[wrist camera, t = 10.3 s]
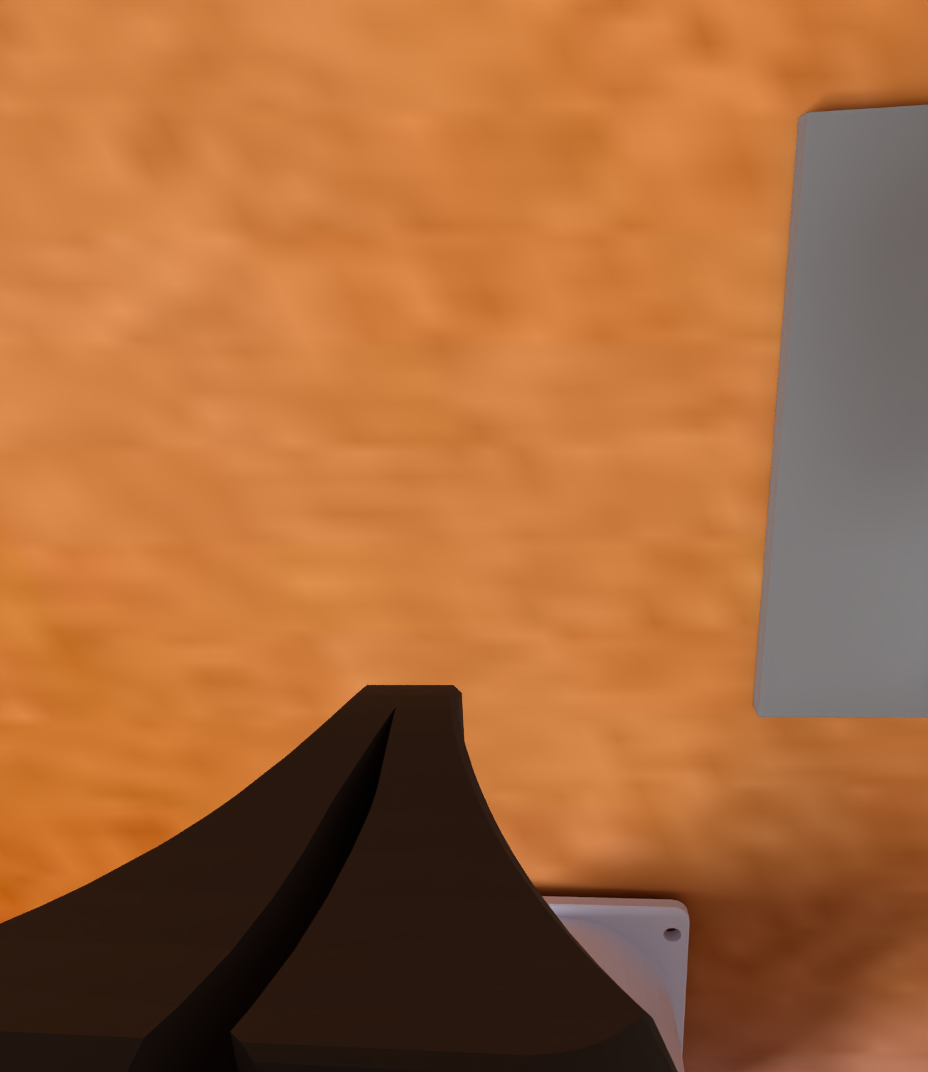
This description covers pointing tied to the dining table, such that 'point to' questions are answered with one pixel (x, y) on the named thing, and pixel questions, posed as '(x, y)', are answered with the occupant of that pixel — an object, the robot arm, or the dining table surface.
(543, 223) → the dining table surface
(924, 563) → the mat
